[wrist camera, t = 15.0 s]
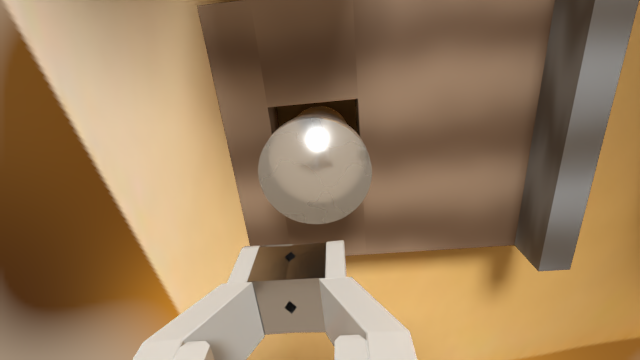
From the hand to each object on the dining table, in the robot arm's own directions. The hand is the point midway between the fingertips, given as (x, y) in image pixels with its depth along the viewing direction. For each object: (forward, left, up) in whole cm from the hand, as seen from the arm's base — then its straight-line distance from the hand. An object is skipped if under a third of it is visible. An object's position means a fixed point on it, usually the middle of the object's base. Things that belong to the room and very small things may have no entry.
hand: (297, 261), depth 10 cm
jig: (0, +5, -16) cm, 16 cm away
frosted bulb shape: (0, 0, -16) cm, 16 cm away
